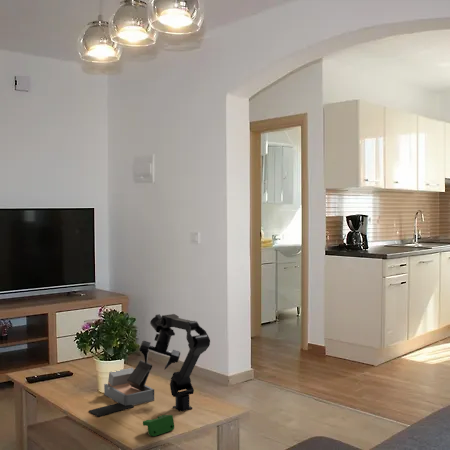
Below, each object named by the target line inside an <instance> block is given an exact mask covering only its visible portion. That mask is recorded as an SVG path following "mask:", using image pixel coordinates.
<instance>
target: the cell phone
mask: <svg viewBox="0 0 450 450" xmlns="http://www.w3.org/2000/svg"><path fill="white" fill-rule="evenodd" d="M133 408H135V405H128V406H124V405H123V404H121V403H118V402H116V403H112V404H109V405H105V406H101V407H97V408H93V409H89V410H88V413H89V414H91V415H93V416H95V417H97V418H102V417H105V416H108V415H113V414H116V413H121V412H123V411H126V410H131V409H133Z"/></svg>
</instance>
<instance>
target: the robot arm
mask: <svg viewBox="0 0 450 450" xmlns="http://www.w3.org/2000/svg"><path fill="white" fill-rule="evenodd" d="M149 322H150V323H149V324H150V326H151V327H152V328H153V329H154V331H155V332H156V333H155V336H154V337H155V338H154V341H155V342H156V343H155V345H154V346H153V345H151V342H150V341H147V340H143V341H142V342H141V344H140V347H139V350H138V351H139V352H140V353H141V354H143V357H144V362H145V364H146V363H148V359H149V353H150V351H151V352H153V353H157V354H160V355H164V356H168V357H169V358H168V359H167V362H166V365H165V367H164V370H166V369H168V367H169V366H171V364H175V363H179V359H180V356H181V351H179V350H176V349H172V351H169V350H168V349H169V345H170V341H171V339H172V336H173V337H174V336H175V335H176V333H175V331H174V329H173V328H177V329H180V330H183V331H184V330H185V332H186V341H187V344H188V349H189V351H188V353H187V355H186V357H185V359H184V361H183V363H182V365H181V367H180V370H179V371H174V372H173V373H172V376H171V378H170V382H169V386H170V387H169V388H170V393H171V396H172V397H173V398H175V405H173V406H172V409H175V410H176V411H178V412H185V411H189V410H193V407H192V406H191V405H190V395H193V394H194V391H195V389H194V387H193V384H192V380H191V379H192V378H191V375H192V372H193V371H194V368H195V367H196V365H197V362H198V360H199V358H200V356H201V354H203V353H205V352H206V351H207V349H208V348H210V345H211V339H210V337H209V335H208V333H207V331H206V330H205V329H204V328H203V327H201V326H200V325H199V323H198V321H196V320H189V319H185V318H181V317H179V316H178V315H177V314H175V313H172V314H164V315H163V314H162V315H161V314H155V316H154V317H153V318H151V320H150V321H149ZM192 331H195V333H196V334H198V335H192V333H191V332H192Z"/></svg>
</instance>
